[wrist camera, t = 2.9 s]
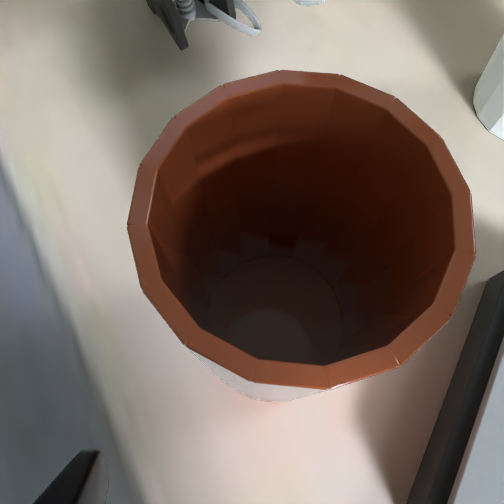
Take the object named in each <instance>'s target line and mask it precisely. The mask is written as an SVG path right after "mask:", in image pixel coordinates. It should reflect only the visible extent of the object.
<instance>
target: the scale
mask: <svg viewBox="0 0 504 504" xmlns="http://www.w3.org/2000/svg"><path fill="white" fill-rule="evenodd" d="M407 504H504V271H502V272H500V273H498V274H496V275H495V276H493V277H491V278H489V279H488V281H487V284H486V287H485V290H484V292H483V295H482V298H481V301H480V303H479V306H478V309H477V312H476V314H475V317H474V320H473V323H472V325H471V328H470V331H469V334H468V336H467V339H466V342H465V345H464V347H463V350H462V353H461V355H460V358H459V361H458V364H457V366H456V369H455V372H454V375H453V377H452V380H451V383H450V386H449V388H448V391H447V394H446V397H445V399H444V402H443V405H442V408H441V410H440V413H439V416H438V419H437V421H436V424H435V427H434V430H433V432H432V435H431V438H430V440H429V443H428V446H427V449H426V451H425V454H424V457H423V460H422V462H421V465H420V468H419V471H418V473H417V476H416V479H415V482H414V484H413V487H412V490H411V493H410V495H409V498H408V501H407Z"/></svg>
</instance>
